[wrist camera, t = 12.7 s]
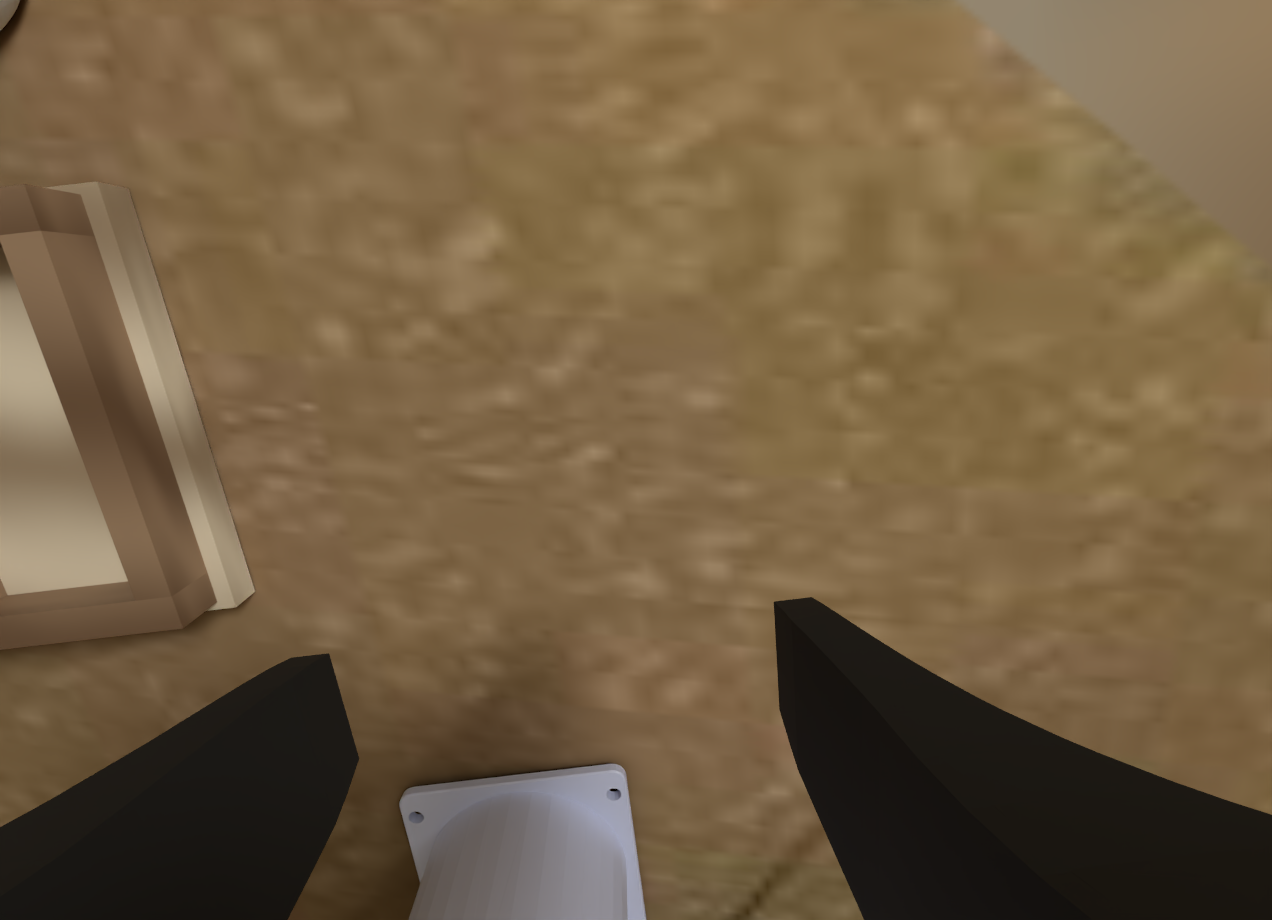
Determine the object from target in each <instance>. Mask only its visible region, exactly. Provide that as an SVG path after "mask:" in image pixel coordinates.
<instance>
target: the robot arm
mask: <svg viewBox="0 0 1272 920" xmlns="http://www.w3.org/2000/svg"><path fill="white" fill-rule="evenodd" d="M774 613H775V632H776V651H777V669H778V688H779V707H780V712H781V716H782V719H783V722H784V726H785V729H786V732H787V736H788V739H789V742H790V746H791V749H792V752H793V755H794V758H795V761H796V764H797V768H798V770H799V773H800V775H801V777H802V780H803V782H804V784H805V787H806V789H807V791H808V794H809V796H810V798H811V800H812V803H813V805H814V807H815V810H816V812H817V814H818V816H819V819H820V821H821V823H822V826H823V828H824V830H825V832H826V835H827V837H828V839H829V841H830V844H831V846H832V848H833V850H834V853H835V855H836V857H837V859H838V862H839V864H840V866H841V868H842V871H843V873H844V875H845V877H846V880H847V882H848V884H849V886H850V889H851V891H852V893H853V895H854V898H855V900H856V902H857V904H858V907H859V909H860V911H861V913H862V916H863V918H864V920H1272V815H1270V814H1267V813H1264V812H1261V811H1258V810H1255V809H1252V808H1249V807H1246V806H1242V805H1239V804H1236V803H1233V802H1230V801H1227V800H1224V799H1221V798H1218V797H1215V796H1213V795H1210V794H1207V793H1204V792H1201V791H1198V790H1195V789H1193V788H1190V787H1187V786H1184V785H1181V784H1178V783H1175V782H1173V781H1170V780H1167V779H1164V778H1162V777H1159V776H1157V775H1154V774H1152V773H1149V772H1146V771H1144V770H1141V769H1139V768H1136V767H1133V766H1131V765H1128V764H1126V763H1123V762H1121V761H1118V760H1115V759H1113V758H1110V757H1108V756H1105V755H1102V754H1100V753H1097V752H1095V751H1093V750H1090V749H1088V748H1085V747H1083V746H1081V745H1078V744H1076V743H1073V742H1071V741H1069V740H1066V739H1064V738H1062V737H1059V736H1057V735H1055V734H1053V733H1051V732H1048V731H1046V730H1044V729H1042V728H1040V727H1038V726H1036V725H1033V724H1031V723H1029V722H1027V721H1025V720H1023V719H1020V718H1018V717H1016V716H1014V715H1012V714H1010V713H1007V712H1005V711H1003V710H1001V709H999V708H997V707H995V706H993V705H991V704H989V703H987V702H985V701H983V700H981V699H979V698H977V697H975V696H974V695H972V694H970V693H968V692H966V691H964V690H963V689H961V688H959V687H957V686H955V685H954V684H952V683H950V682H948V681H946V680H944V679H943V678H941V677H939V676H937V675H935V674H933V673H932V672H930V671H928V670H927V669H925V668H923V667H922V666H920V665H918V664H916V663H915V662H913V661H911V660H910V659H908V658H906V657H905V656H903V655H901V654H900V653H898V652H897V651H895V650H893V649H892V648H890V647H889V646H887V645H885V644H884V643H882V642H881V641H879V640H877V639H876V638H874V637H873V636H871V635H870V634H868V633H867V632H865V631H863V630H862V629H860V628H859V627H857V626H856V625H854V624H853V623H851V622H850V621H848V620H847V619H845V618H844V617H842V616H841V615H839V614H838V613H836V612H835V611H833V610H831V609H830V608H828V607H827V606H825V605H824V604H822V603H820V602H819V601H817V600H815V599H814V598H812V597H810V598H802V599H793V600H785V601H776V602H774ZM358 760H359V757H358V753H357V750H356V746H355V743H354V739H353V736H352V732H351V729H350V725H349V722H348V718H347V715H346V711H345V708H344V704H343V701H342V697H341V694H340V690H339V687H338V683H337V680H336V676H335V673H334V669H333V666H332V662H331V659H330V655H329V654H320V655H311V656H303V657H294V658H290V659H288V660H286V661H284V662H282V663H280V664H278V665H276V666H274V667H272V668H270V669H268V670H266V671H265V672H263V673H261V674H259V675H258V676H256V677H254V678H252V679H251V680H249V681H247V682H246V683H244V684H242V685H241V686H239V687H237V688H236V689H234V690H232V691H231V692H229V693H227V694H226V695H224V696H222V697H221V698H219V699H218V700H216V701H214V702H213V703H211V704H209V705H208V706H206V707H205V708H203V709H201V710H200V711H198V712H196V713H195V714H193V715H192V716H190V717H188V718H187V719H185V720H184V721H182V722H180V723H179V724H177V725H175V726H174V727H172V728H171V729H169V730H167V731H166V732H164V733H162V734H161V735H159V736H158V737H156V738H154V739H153V740H151V741H149V742H148V743H146V744H145V745H143V746H141V747H140V748H138V749H136V750H134V751H133V752H131V753H129V754H128V755H126V756H124V757H123V758H121V759H119V760H117V761H116V762H114V763H112V764H111V765H109V766H107V767H106V768H104V769H102V770H100V771H99V772H97V773H95V774H94V775H92V776H90V777H89V778H87V779H85V780H83V781H82V782H80V783H78V784H77V785H75V786H73V787H72V788H70V789H68V790H66V791H65V792H63V793H61V794H60V795H58V796H56V797H54V798H53V799H51V800H49V801H47V802H45V803H44V804H42V805H40V806H38V807H37V808H35V809H33V810H31V811H29V812H28V813H26V814H24V815H22V816H20V817H18V818H16V819H15V820H13V821H11V822H9V823H7V824H5V825H4V826H2V827H0V920H287V919H288V917H289V915H290V913H291V911H292V910H293V908H294V906H295V904H296V902H297V900H298V898H299V896H300V894H301V892H302V890H303V888H304V886H305V884H306V882H307V880H308V878H309V876H310V874H311V872H312V870H313V868H314V866H315V864H316V862H317V860H318V859H319V857H320V855H321V853H322V851H323V849H324V847H325V845H326V843H327V841H328V839H329V836H330V834H331V832H332V830H333V828H334V826H335V824H336V822H337V819H338V816H339V814H340V811H341V809H342V806H343V803H344V801H345V798H346V795H347V793H348V790H349V787H350V784H351V781H352V778H353V775H354V772H355V769H356V766H357V763H358ZM612 788H614V789H618V791H615V792H613V791H610V790H609V789H612ZM399 806H400V810H401V814H402V818H403V821H404V825H405V829H406V833H407V836H408V840H409V844H410V847H411V851H412V855H413V858H414V862H415V866H416V869H417V873H418V877H419V880H420V886H419V889H418V892H417V895H416V898H415V901H414V904H413V907H412V910H411V913H410V916H409V919H408V920H647V919H646V912H645V905H644V898H643V891H642V884H641V877H640V870H639V863H638V855H637V848H636V841H635V834H634V827H633V820H632V813H631V806H630V799H629V791H628V784H627V777H626V772H625V770H624V769H623V768H622V767H621V766H619V765H617V764H604V765H596V766H587V767H578V768H570V769H561V770H553V771H544V772H536V773H527V774H519V775H510V776H501V777H493V778H484V779H476V780H467V781H459V782H450V783H442V784H433V785H424V786H416V787H411V788H408V789H407V790H405V791H404V793H403V795H402V797H401V800H400V802H399ZM415 812H420V813H421V814H417V813H415Z"/></svg>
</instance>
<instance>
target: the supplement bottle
mask: <svg viewBox="0 0 1272 920" xmlns="http://www.w3.org/2000/svg"><path fill="white" fill-rule="evenodd" d="M19 2H20V0H0V31H1V30H2V29H3V28H4V27H5V25H6V24H7V23H8V22H9V20H10V19H11V18H12V16H13V14H14V13H15V11H16V9H17V7H18V5H19Z"/></svg>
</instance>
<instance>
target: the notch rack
mask: <svg viewBox="0 0 1272 920" xmlns="http://www.w3.org/2000/svg"><path fill="white" fill-rule="evenodd" d="M254 592H255V590H254V586H253V583H252V580H251V577H250V574H249V571H248V567H247V564H246V561H245V558H244V555H243V551H242V548H241V545H240V542H239V539H238V536H237V532H236V529H235V526H234V523H233V520H232V517H231V513H230V510H229V507H228V504H227V501H226V497H225V494H224V491H223V488H222V485H221V482H220V478H219V475H218V472H217V469H216V466H215V462H214V459H213V456H212V453H211V450H210V447H209V443H208V440H207V437H206V434H205V431H204V427H203V424H202V421H201V418H200V415H199V412H198V408H197V405H196V402H195V399H194V396H193V392H192V389H191V386H190V383H189V380H188V377H187V373H186V370H185V367H184V364H183V361H182V357H181V354H180V351H179V348H178V345H177V342H176V338H175V335H174V332H173V329H172V326H171V322H170V319H169V316H168V313H167V310H166V307H165V303H164V300H163V297H162V294H161V291H160V287H159V284H158V281H157V278H156V275H155V272H154V268H153V265H152V262H151V259H150V256H149V253H148V249H147V246H146V243H145V240H144V237H143V233H142V230H141V227H140V224H139V221H138V218H137V214H136V211H135V208H134V205H133V202H132V198H131V195H130V192H129V189H128V188H125V187H120V186H116V185H111V184H106V183H102V182H88V183H80V184H71V185H62V186H53V187H45V188H43V187H37V186H32V185H27V184H20V185H11V186H3V187H0V650H3V649H12V648H21V647H29V646H38V645H46V644H55V643H64V642H72V641H81V640H90V639H98V638H107V637H115V636H124V635H133V634H141V633H150V632H158V631H167V630H176V629H183V628H184V627H186V626H187V625H188V624H190V623H191V622H192V621H194V620H195V619H196V618H197V617H199V616H200V615H201V614H203V613H204V612H205V611H210V610H218V609H227V608H235V607H237V606H238V605H240V604H241V603H242V602H243V601H244V600H246V599H247V598H248V597H249V596H251V595H252V594H253V593H254Z"/></svg>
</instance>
